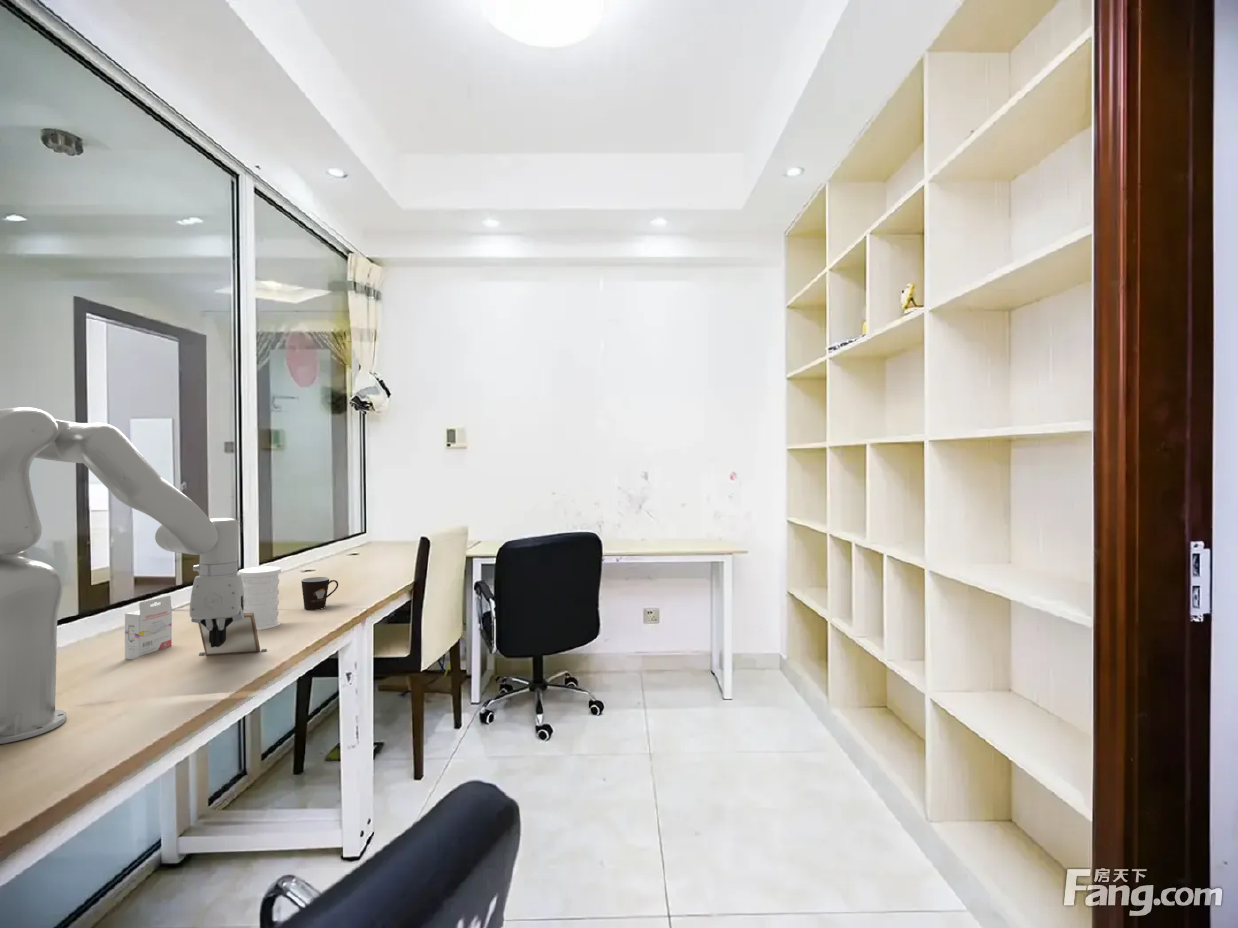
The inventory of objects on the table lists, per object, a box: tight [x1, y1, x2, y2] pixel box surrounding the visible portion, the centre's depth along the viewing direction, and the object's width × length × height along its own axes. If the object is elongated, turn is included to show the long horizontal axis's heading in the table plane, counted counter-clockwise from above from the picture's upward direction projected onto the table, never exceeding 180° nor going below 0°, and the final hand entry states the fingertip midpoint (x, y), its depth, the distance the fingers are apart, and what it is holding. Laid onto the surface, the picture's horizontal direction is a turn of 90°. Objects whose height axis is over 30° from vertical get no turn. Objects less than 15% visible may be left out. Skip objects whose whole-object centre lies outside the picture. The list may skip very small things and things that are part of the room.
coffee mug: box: [300, 576, 339, 611], centre depth 197 cm, size 12×9×10 cm
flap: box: [197, 613, 261, 656], centre depth 143 cm, size 13×12×1 cm
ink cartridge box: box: [124, 595, 173, 661], centre depth 147 cm, size 9×5×15 cm, turn 168°
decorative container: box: [238, 565, 282, 631], centre depth 171 cm, size 12×12×18 cm
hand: (217, 645), depth 136 cm, fingers closed
